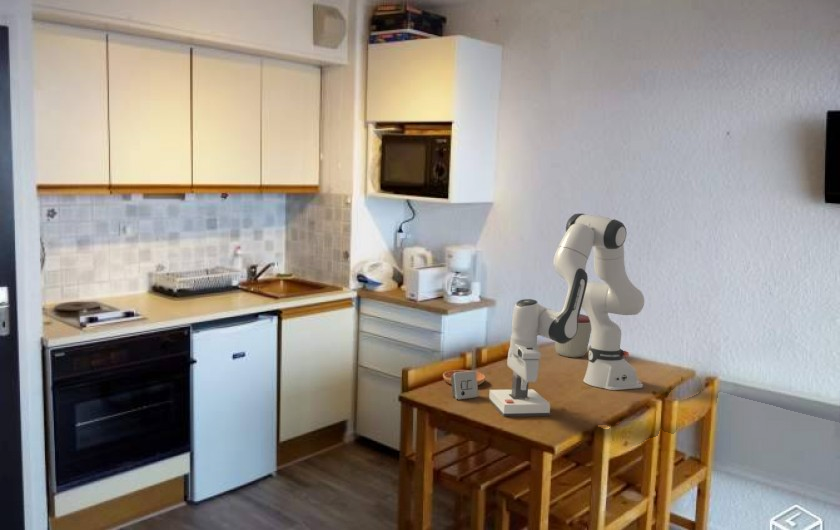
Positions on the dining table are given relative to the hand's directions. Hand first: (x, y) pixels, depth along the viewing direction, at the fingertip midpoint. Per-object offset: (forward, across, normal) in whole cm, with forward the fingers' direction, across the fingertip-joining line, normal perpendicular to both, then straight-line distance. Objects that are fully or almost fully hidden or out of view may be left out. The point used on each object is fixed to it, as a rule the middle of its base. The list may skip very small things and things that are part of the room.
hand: (520, 387), depth 247 cm
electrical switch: (+8, -13, -16) cm, 22 cm away
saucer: (+8, -30, -11) cm, 33 cm away
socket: (+7, 0, 0) cm, 7 cm away
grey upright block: (+3, 0, 0) cm, 3 cm away
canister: (+7, -70, +50) cm, 86 cm away
